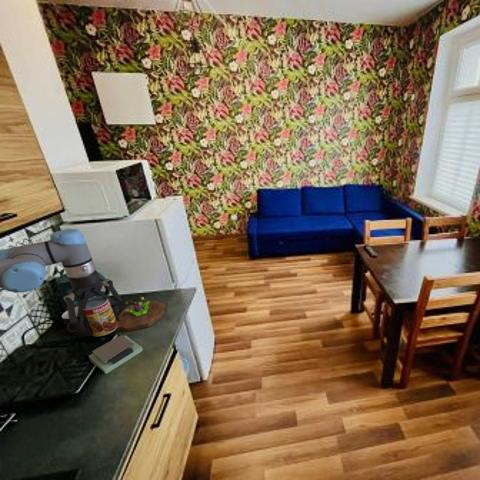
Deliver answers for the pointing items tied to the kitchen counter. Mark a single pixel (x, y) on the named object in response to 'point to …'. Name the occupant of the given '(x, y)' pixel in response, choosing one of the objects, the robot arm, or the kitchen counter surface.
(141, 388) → the kitchen counter surface
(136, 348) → the scale
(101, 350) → the scale pan
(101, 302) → the canned food
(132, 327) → the plant
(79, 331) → the coffee mug
